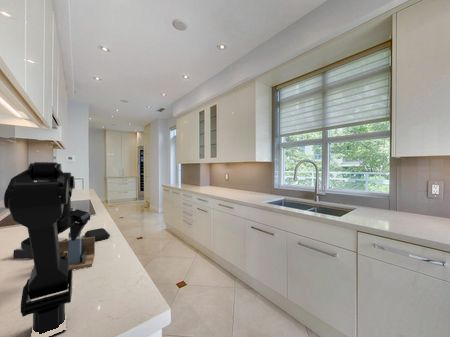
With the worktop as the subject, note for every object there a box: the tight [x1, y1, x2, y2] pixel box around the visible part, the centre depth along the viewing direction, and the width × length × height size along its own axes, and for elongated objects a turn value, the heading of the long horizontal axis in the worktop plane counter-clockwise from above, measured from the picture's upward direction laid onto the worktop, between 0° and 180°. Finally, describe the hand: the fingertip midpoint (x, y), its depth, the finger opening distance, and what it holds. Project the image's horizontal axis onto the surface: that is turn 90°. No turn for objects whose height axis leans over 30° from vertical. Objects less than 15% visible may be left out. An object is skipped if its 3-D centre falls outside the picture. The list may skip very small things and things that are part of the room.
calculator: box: [12, 237, 68, 260], centre depth 89 cm, size 11×4×15 cm
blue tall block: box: [67, 231, 82, 265], centre depth 77 cm, size 4×4×12 cm
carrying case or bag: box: [84, 227, 111, 243], centre depth 105 cm, size 11×3×15 cm
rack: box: [59, 237, 96, 271], centre depth 77 cm, size 11×14×8 cm
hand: (61, 249), depth 66 cm, fingers open, 9 cm apart
